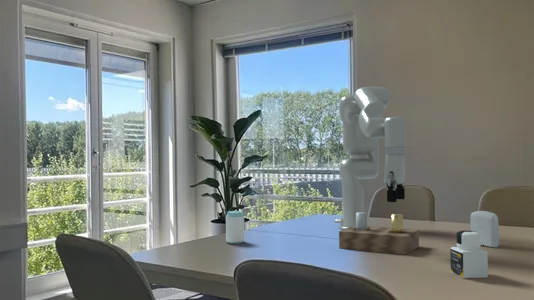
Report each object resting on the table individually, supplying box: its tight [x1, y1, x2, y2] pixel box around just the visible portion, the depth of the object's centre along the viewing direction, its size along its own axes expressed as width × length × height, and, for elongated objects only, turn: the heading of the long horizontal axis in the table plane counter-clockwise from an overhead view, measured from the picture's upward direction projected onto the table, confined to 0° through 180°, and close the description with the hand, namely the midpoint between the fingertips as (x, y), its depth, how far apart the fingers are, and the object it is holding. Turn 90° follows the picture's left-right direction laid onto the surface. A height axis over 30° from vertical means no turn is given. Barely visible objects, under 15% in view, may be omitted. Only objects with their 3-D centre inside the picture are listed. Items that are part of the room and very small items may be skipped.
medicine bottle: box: [450, 230, 489, 280], centre depth 130 cm, size 7×7×12 cm
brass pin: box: [390, 213, 404, 234], centre depth 167 cm, size 4×4×10 cm
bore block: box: [338, 225, 420, 256], centre depth 170 cm, size 24×16×6 cm, turn 58°
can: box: [225, 210, 245, 245], centre depth 184 cm, size 7×7×12 cm
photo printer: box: [469, 210, 500, 248], centre depth 171 cm, size 10×4×12 cm, turn 26°
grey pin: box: [356, 211, 368, 231], centre depth 174 cm, size 4×4×10 cm
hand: (396, 200), depth 167 cm, fingers open, 9 cm apart
